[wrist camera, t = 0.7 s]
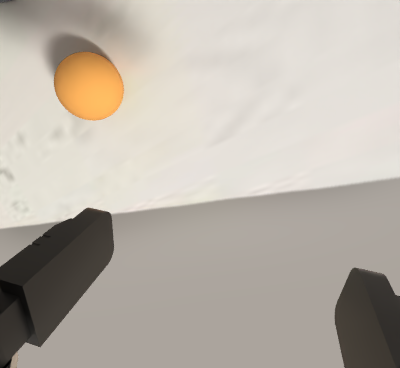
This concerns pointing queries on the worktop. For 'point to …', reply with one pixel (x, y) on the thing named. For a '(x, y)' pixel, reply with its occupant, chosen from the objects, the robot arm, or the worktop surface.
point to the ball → (88, 86)
